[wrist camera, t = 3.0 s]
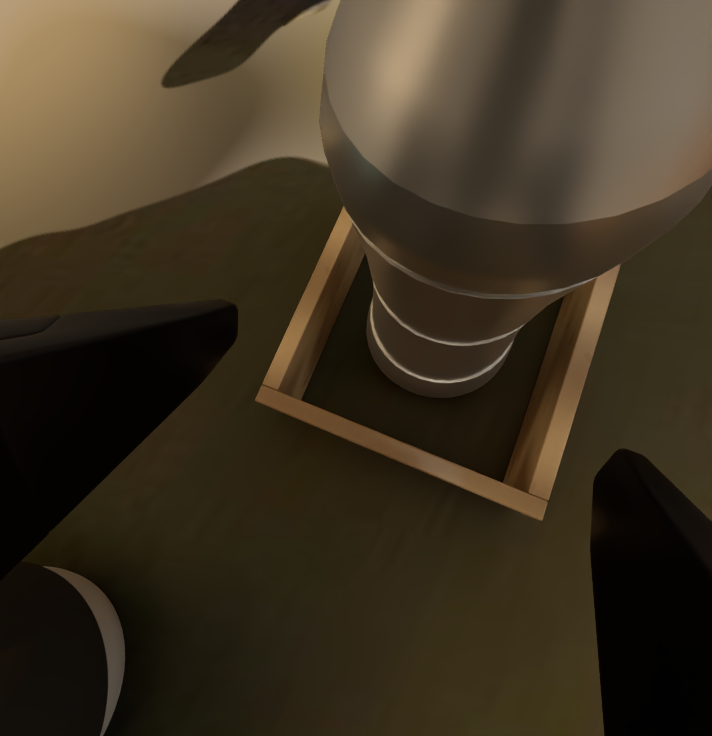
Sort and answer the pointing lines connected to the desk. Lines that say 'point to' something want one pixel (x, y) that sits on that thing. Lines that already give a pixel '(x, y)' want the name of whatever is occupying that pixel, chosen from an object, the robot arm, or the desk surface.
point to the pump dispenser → (57, 654)
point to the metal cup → (507, 160)
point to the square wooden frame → (521, 483)
